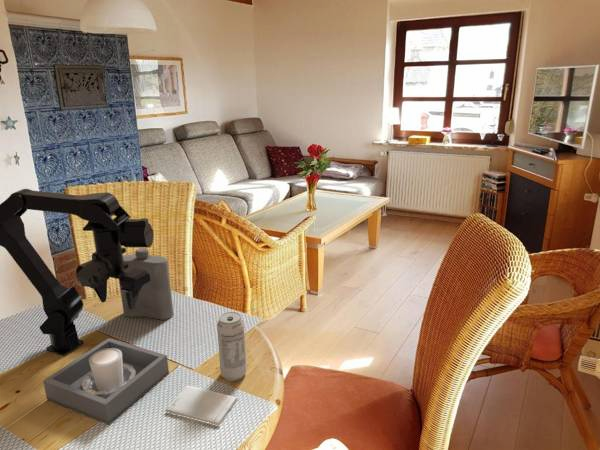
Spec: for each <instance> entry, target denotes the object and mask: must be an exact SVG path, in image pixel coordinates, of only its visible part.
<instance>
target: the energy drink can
mask: <svg viewBox="0 0 600 450" xmlns="http://www.w3.org/2000/svg"><path fill="white" fill-rule="evenodd" d="M216 331H217V340H218V341H217V343H218V345H217V346H218V356H219V370H220V375H221V376H222V377H223V378H224V379H225V380H226V381H228V382H229V381H230V382H235V381H239V380H242V379H243V378H244V377H245V374H246V373H247V372H248V371H247V369H248V368H247V366H248V365H247V353H246V352H247V351H246V333H245V321H244V320H243V319H242V315H241V314H240V313H239V312H236V311H227V312H224V313H222V314H221V315H219V318H218V321H217V323H216Z"/></svg>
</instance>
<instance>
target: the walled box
mask: <svg viewBox="0 0 600 450" xmlns="http://www.w3.org/2000/svg"><path fill="white" fill-rule="evenodd" d="M108 348H115V349H119V350H120V351H121V352H122V360H123V363H125V364H129V365H132V366H133V368H134V369H135V371H136V376H134V377H133V378H132V379H131V380H129V377H130V374H129V373H127V372H124V371H123V383H122V384H121V385H123V384H124V383H125V382H126V381H128V380H129V381H128V382H127V383H126V384H124V385H123V386H122V387H120V388H119V389H118V390H117V391H115V392H114V393H113V394H112V395H110V396H109V397H108V398H107V399H104V398H102V397H99V396H96V395H94V394H91V393H88V392H86V391H83V390H82V385H81V383H82V382H83V380H84V378H85V376H86V375H87V374H89V373H90V372H91V371H92V370H91V367H90V364H89V358H90V357H91V356H92V355H93V354H94V353H96V352H98V351H100V350H103V349H108ZM168 361H169V360H168V355H167V354H163V353H159V352H157V351H154V350H150V349H147V348H144V347H140V346H136V345H134V344H130V343H127V342H123V341H120V340H116V339H114V338H110V337H108V338H107V339H105V340H104V341H102V342H101V343H99V344H97V345H96V346H94V347H93V348H91V349H89V350H88V351H86V352H85V353H84V354H82V355H80V356H79V357H77V358H76V359H74V360H72V361H71V362H70V363H68V364H66V365H64V366H63V367H62V368H60V369H59V370H57V371H56V372H54V373H53V374H50V375H49V376H48V377H46V378H45V379H43V380H42V382H43V386H44V387H43V388H44V392H45V396H46V400H47V401H49V402H51V403H53V404H56V405H58V406H61V407H63V408H66V409H68V410H70V411H73V412H76V413H78V414H80V415H84V416H86V417H88V418H91V419H93V420H95V421H98V422H100V423H103V424H106V425H108V426H110V425H111V424H112V423H113V422H114V421H116V420H117V419H118V418H120V416H122V415H123V414H124V413H125V412H126V411H127V410H128V409H130V408H131V407H132V406H134V405H135V403H137V402H138V401H140V399H141V398H143V397H144V396H145V395H146V394H148V392H149V390H150V391H151V390H152V389H153V388H154V387H155V386H156V384H157V383H158V382H159V383H160V382H161V381H163V378H164V377H165V378H166V377H167V376H169V374H170V372H169V371H170V370H169V363H168ZM165 378H164V379H165ZM159 383H158V384H159ZM158 384H157V385H158ZM121 385H120V386H121ZM88 388H89V389H92V390H94V391H100V390H98V389H97V387H96V383H95V380H92V381H91V383H90V385H89V386H88ZM151 388H152V389H151Z"/></svg>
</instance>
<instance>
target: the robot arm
mask: <svg viewBox="0 0 600 450" xmlns="http://www.w3.org/2000/svg"><path fill="white" fill-rule="evenodd" d="M28 210H31V211H40V212H49V213H59V214H65V215H66V214H67V215H72V216H76V217H78V218H79V219H82V220H83V221H86V222H87V223H86V224H85V225H84V227H82V231H84V232H85V231H89V232H92V236H93V241H94V247H95V251H94V252H92V253H91V259H90V260H89V261H85V262H83V263H81V264H79V265H77V268H76V269H75V273H76V274H75V276H76V278H77V279H78V281H79V283H80V285H81V286H82V287H87V288H90V289H92V290H93V291H94V292H95V294H96V295H97V296H98V299H99V301H100V302H101V303H105V302H107V297H108V295H107V294H108V280H110V278H112V279H116V280H117V279H118V280H119V279H120V285H121V286H122V287H123V288H121V290H122V291H124V292H125V293H126V298H127V303H128V307H129V309H130V310H131V309H133V308H134V306H135V303H136V300H137V298H138V295H139V292H140V290H141V288H142V286H143V285H144V284H146V283H148V282H149V281H150V274H149V272H148V271H146V270H141V269H136V268H135V269H133V270H131V271H129V272H124V269H126V268H128V264H127V263H124V260H123V255H124V254H126V252H127V249H126V248H151V247H152V245H153V243H154V237H155V235H154V234H155V233H154V229H153V227H152V225H151V223H149V219H148V218H145V217H144V218H143V217H142V218H131V215H130V214H129V213H128V212H127V210H125V209H124V207H122V205H121V204H119V200H118V199H117V197H116V196H115V195H114V194H113V193H110V192H97V193H95V192H93V193H88V194H79V195H78V194H77V195H76V194H66V193H59V192H58V193H57V192H50V191H40V190H32V189H29V188H22V189H20V190H18V191H15V192H13V193H11V194H10V195H9V196H8V197H7V198H6V199H5V200H4V201H2V202H1V203H0V247H3V248H4V249H5V250H6V251H7V252H8V254H9V255H10V257H11V258H12V260H13V261H14V262H15V263H16V264H17V266H18V267H19V268H20V270H21V271H22V272H23V274H24V275H25V277H26V278H27V279H28V280H29V282H30V283H31V285H32V286H33V287H34V289H35V290H36V291H37V292H38V293H39V295H40V296H41V301H42V308H43V312H44V313H45V315H46V317H47V318H46V319H45V320H44V321H43V323H42V324H41V325H40V326H39V329H40V331H41V333H42V334H43V335H48V336H49V341H50V345H48V346H47V347H46V348H45V349H46V351H47V352H51V353H54V354H56V355H60V356H65V355H67V354H69V353H71V352H72V351H73V350H75V349H77V348H79V346H81V345H83V344H84V343H85V340H82V339H79V336H78V335H79V334H78V331H77V328H76V324H75V323H74V321H75V320H76V319H78V318H79V315H80V313H81V312H82V311H83V308H84V302H83V300H82V299H84V297H83V296H81V295H80V294H79V293H78V291H77V288H76V287H75V286H73V285H71V286H70V287H66V286H64V285H62V283H60V281H59V280H58V279H57V277H56V276H55V275H54V274H53V272H52V271H51V269H50V268H49V266H47V264H46V263H45V261H44V259H42V257H41V256H40V254H39V252H38V251H37V250H36V249H35V248H34V246H33V245H32V243H31V242H30V240H28V238H27V236H26V229H25V223H24V221H23V220H22V216H23V215H24V214H25V213H26V212H27V211H28ZM113 216H115V217H114V218H112V217H113ZM120 285H119V286H120Z"/></svg>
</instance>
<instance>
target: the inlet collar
mask: <svg viewBox="0 0 600 450" xmlns="http://www.w3.org/2000/svg"><path fill="white" fill-rule="evenodd" d="M123 371H124V372H127V373H129V374H130V377H129V380H131V379H132V378H133V377H134V376H136V371H135V369H134V368H133V366H132V365H129V364H125V363H123ZM92 380H94V377H93V373H92V371H91V372H90V373H89V374H87V375H86V376H85V378H84V380H83V382H82V383H81V385H82V390H83V391H86V392H88V393H91V394H94V395H96V396H99V397H102V398H104V399H107V398H108V397H109V396H110V395H112V394H113V393H114V392H115V391H117V390H118V389H119V388H120V387H122V386H123V385H124V384H126V383H127V382H128V381H129V380H128V381H126V382H125V383H124V384H123V385H121V386H120V387H117V388H114V389H112V390H109V391H94V390H92V389H89V388H88V386H89V385H90V383H91V381H92Z"/></svg>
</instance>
